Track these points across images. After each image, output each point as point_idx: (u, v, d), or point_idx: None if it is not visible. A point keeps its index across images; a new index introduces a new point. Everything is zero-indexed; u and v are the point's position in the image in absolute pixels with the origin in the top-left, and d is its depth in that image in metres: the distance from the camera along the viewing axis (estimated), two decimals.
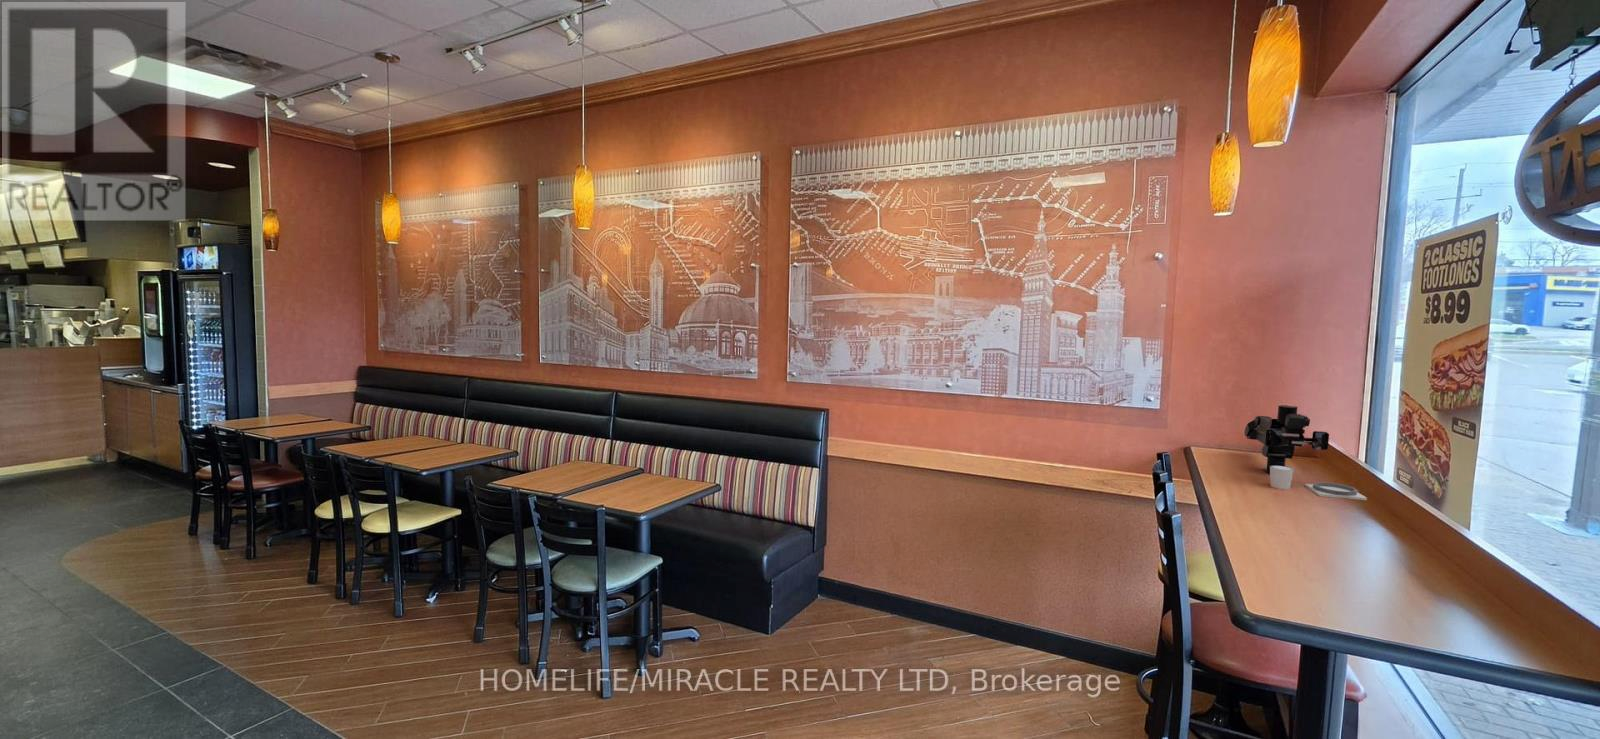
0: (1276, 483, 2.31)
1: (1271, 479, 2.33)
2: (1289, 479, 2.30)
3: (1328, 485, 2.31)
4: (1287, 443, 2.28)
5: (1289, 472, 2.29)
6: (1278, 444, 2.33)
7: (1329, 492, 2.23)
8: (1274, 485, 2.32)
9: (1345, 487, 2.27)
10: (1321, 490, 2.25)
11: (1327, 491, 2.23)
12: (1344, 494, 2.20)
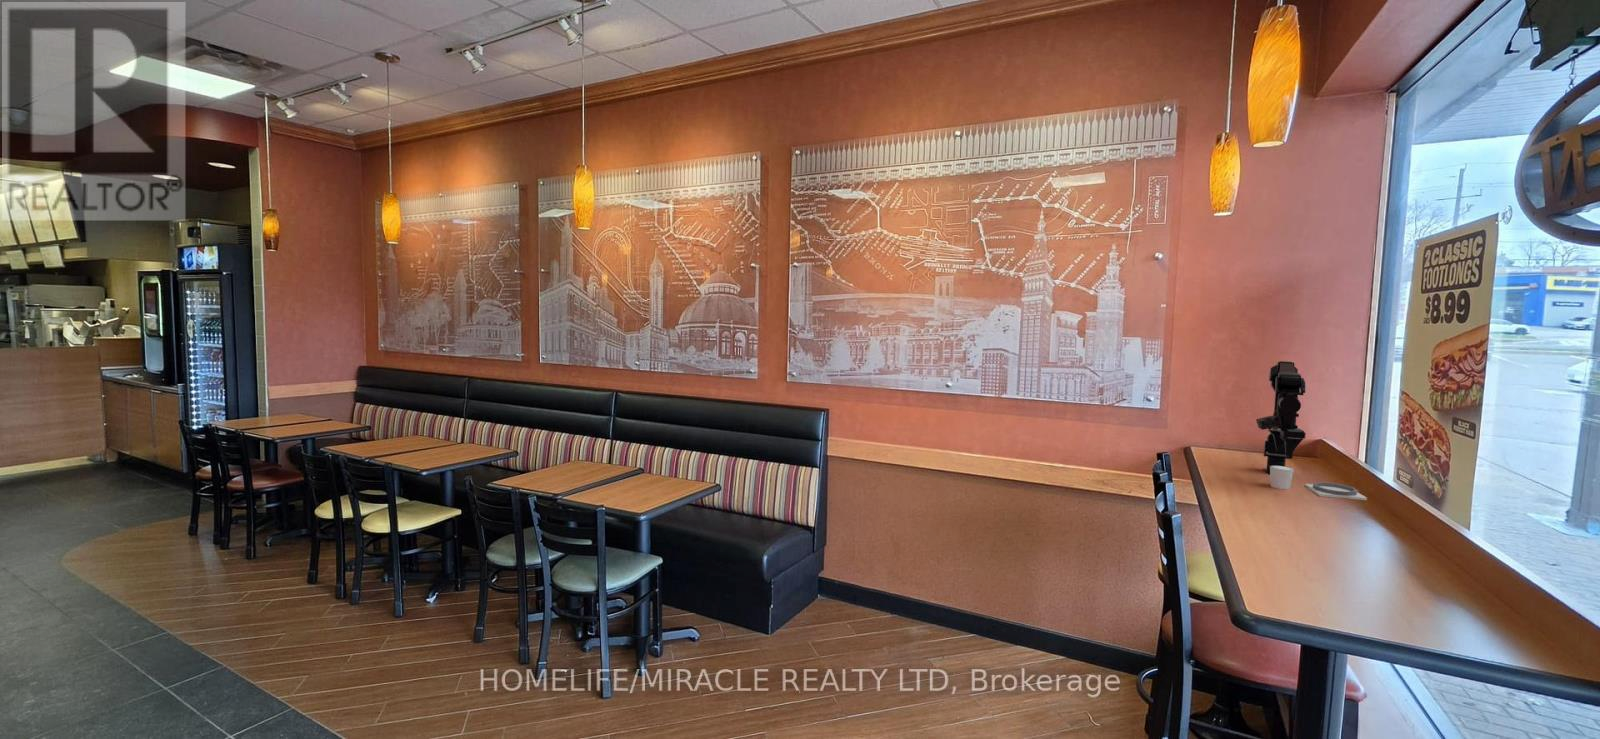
0: (1276, 483, 2.31)
1: (1271, 479, 2.33)
2: (1289, 479, 2.30)
3: (1328, 485, 2.31)
4: None
5: (1289, 472, 2.29)
6: None
7: (1329, 492, 2.23)
8: (1274, 485, 2.32)
9: (1345, 487, 2.27)
10: (1321, 490, 2.25)
11: (1327, 491, 2.23)
12: (1344, 494, 2.20)
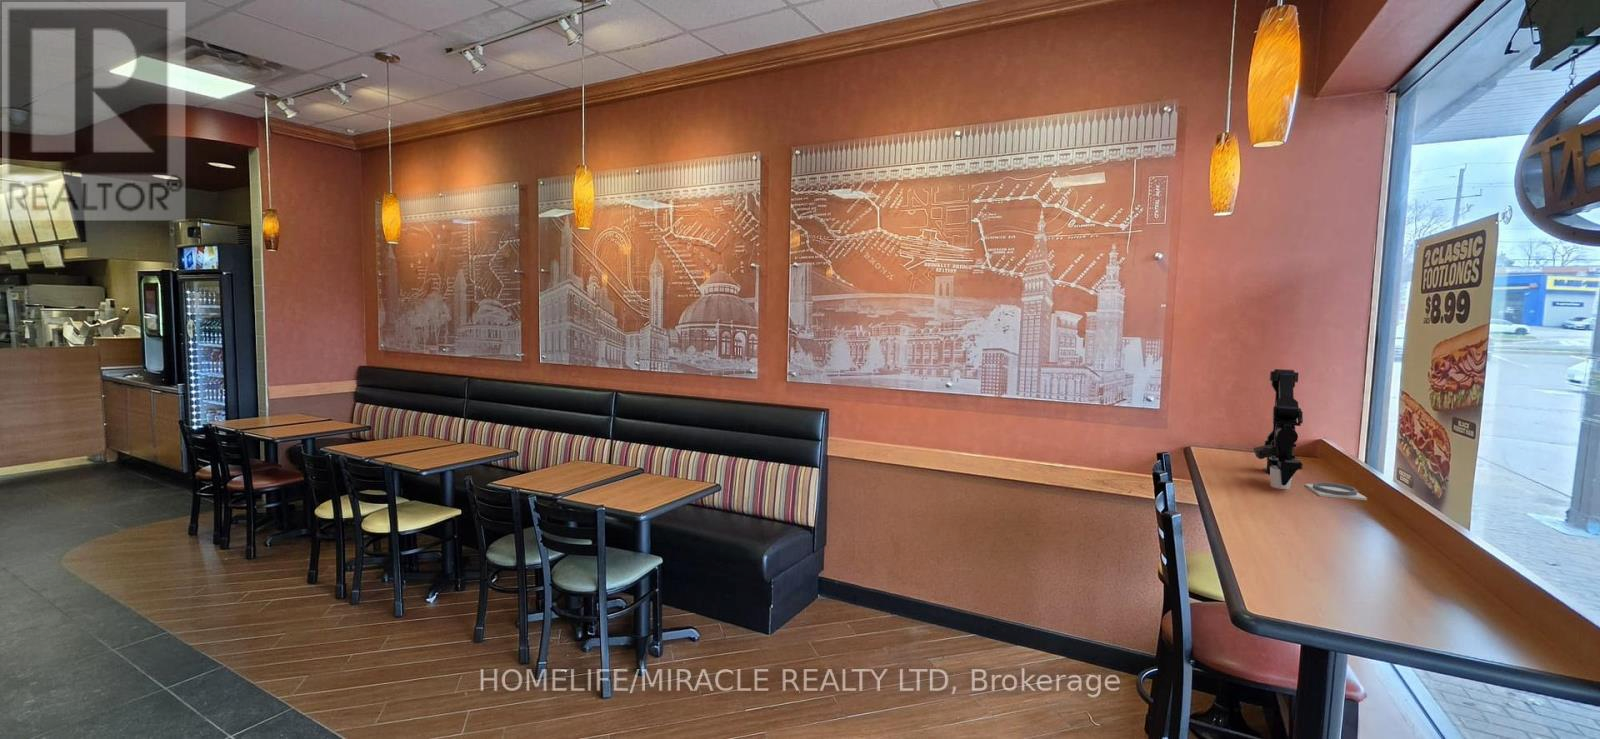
0: (1276, 483, 2.31)
1: (1271, 479, 2.33)
2: None
3: (1328, 485, 2.31)
4: None
5: None
6: None
7: (1329, 492, 2.23)
8: (1274, 485, 2.32)
9: (1345, 487, 2.27)
10: (1321, 490, 2.25)
11: (1327, 491, 2.23)
12: (1344, 494, 2.20)
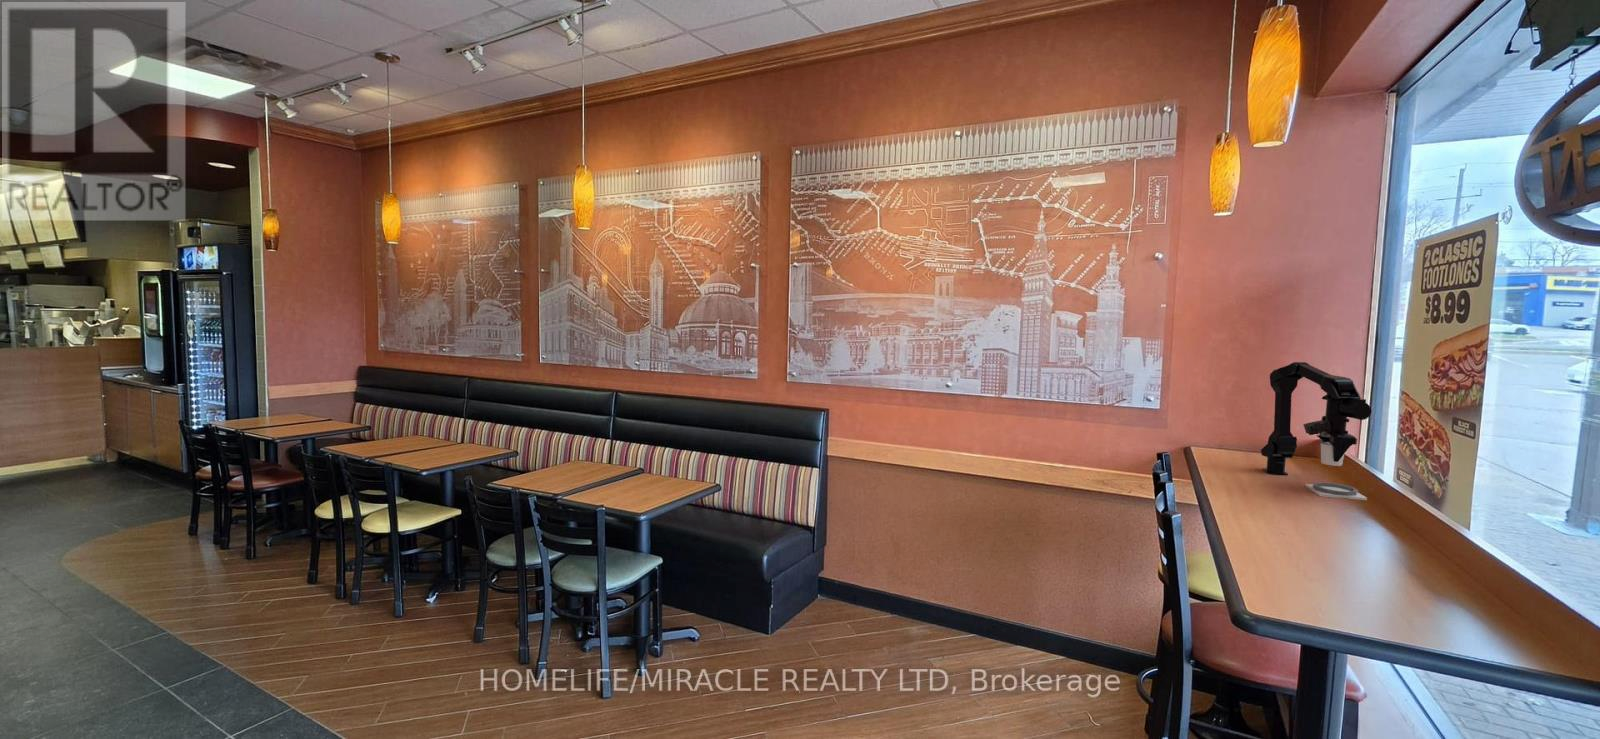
0: (1328, 460, 2.24)
1: (1322, 456, 2.26)
2: None
3: (1328, 485, 2.31)
4: None
5: None
6: None
7: (1329, 492, 2.23)
8: (1325, 462, 2.25)
9: (1345, 487, 2.27)
10: (1321, 490, 2.25)
11: (1327, 491, 2.23)
12: (1344, 494, 2.20)
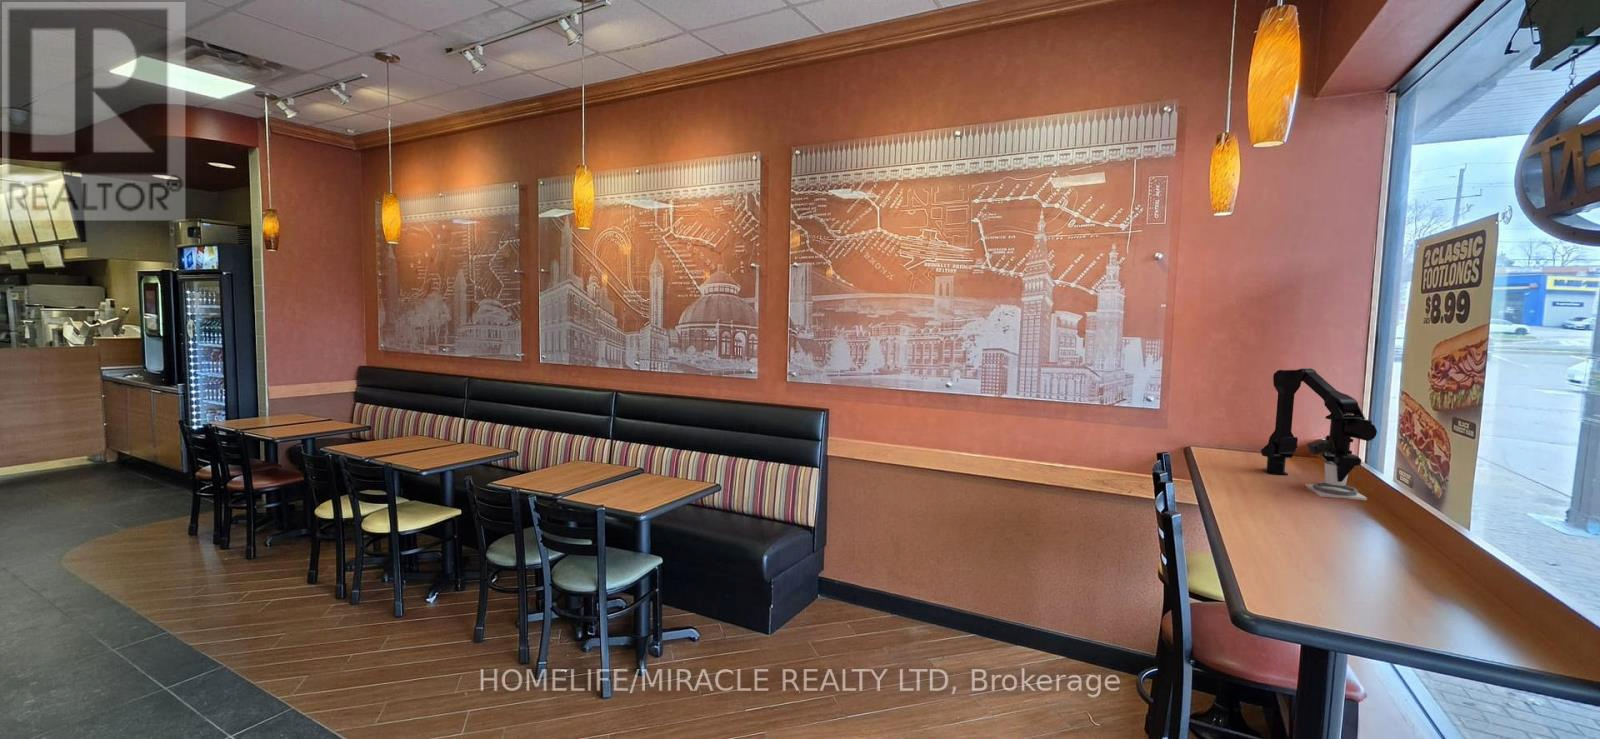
0: (1332, 479, 2.24)
1: (1326, 475, 2.26)
2: None
3: (1328, 485, 2.31)
4: None
5: None
6: None
7: (1329, 492, 2.23)
8: (1329, 481, 2.25)
9: (1345, 487, 2.27)
10: (1321, 490, 2.25)
11: (1327, 491, 2.23)
12: (1344, 494, 2.20)
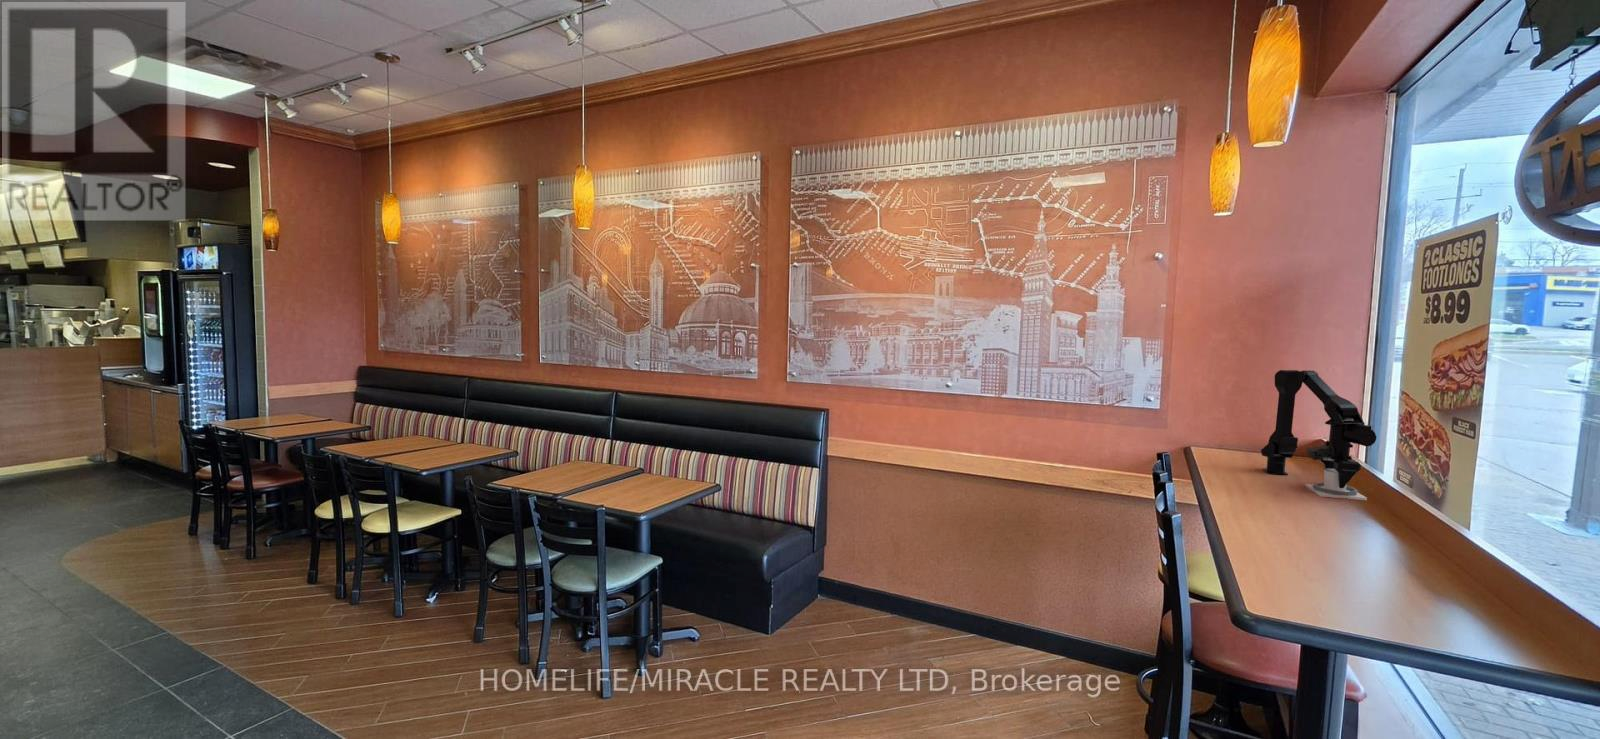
0: (1331, 486, 2.24)
1: (1325, 482, 2.26)
2: None
3: None
4: None
5: None
6: None
7: (1329, 492, 2.23)
8: None
9: None
10: (1321, 490, 2.25)
11: (1327, 491, 2.23)
12: (1344, 494, 2.20)
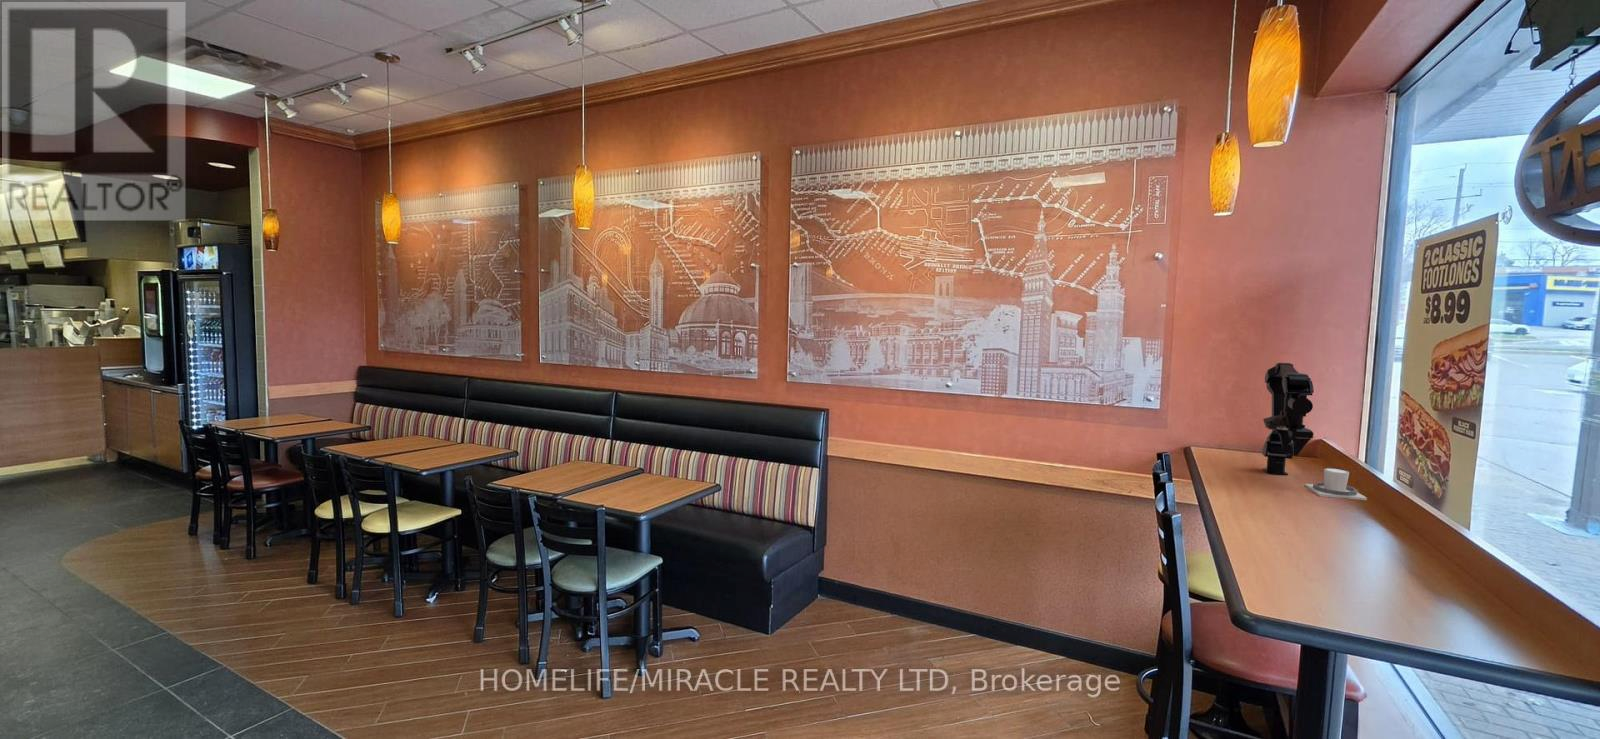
0: (1331, 487, 2.24)
1: (1325, 482, 2.26)
2: (1345, 482, 2.23)
3: None
4: None
5: (1345, 475, 2.22)
6: None
7: (1329, 492, 2.23)
8: None
9: None
10: (1321, 490, 2.25)
11: (1327, 491, 2.23)
12: (1344, 494, 2.20)
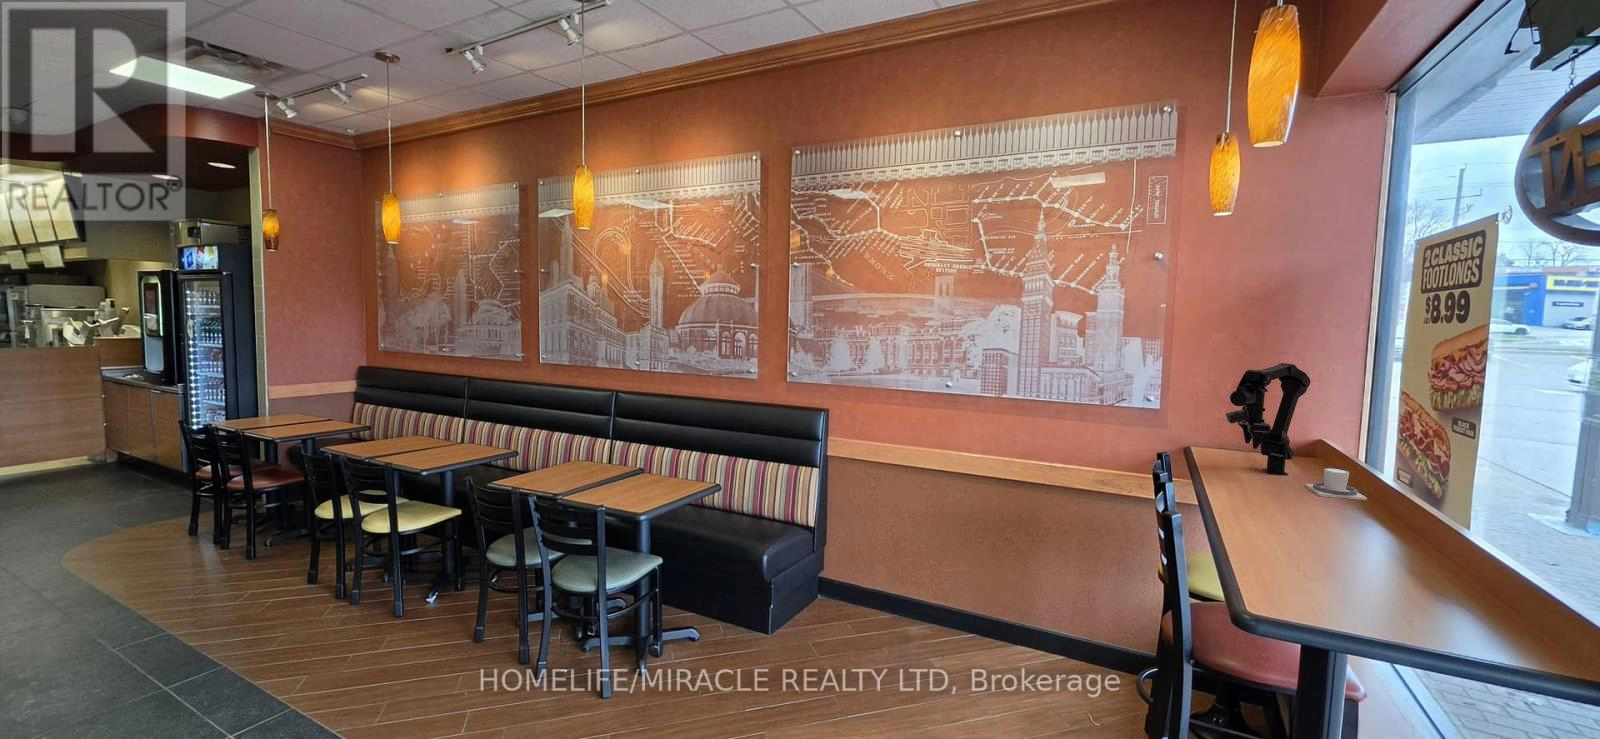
0: (1331, 487, 2.24)
1: (1325, 482, 2.26)
2: (1345, 482, 2.23)
3: None
4: None
5: (1345, 475, 2.22)
6: None
7: (1329, 492, 2.23)
8: None
9: None
10: (1321, 490, 2.25)
11: (1327, 491, 2.23)
12: (1344, 494, 2.20)
